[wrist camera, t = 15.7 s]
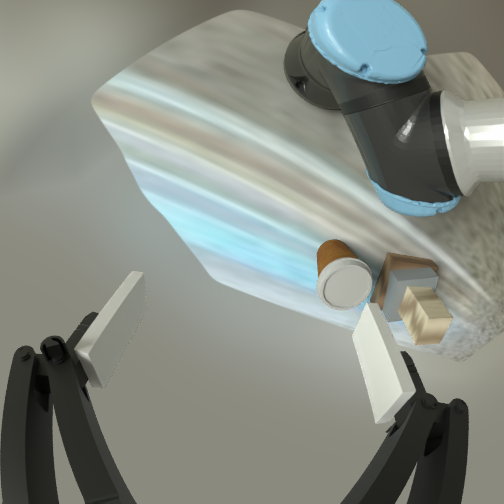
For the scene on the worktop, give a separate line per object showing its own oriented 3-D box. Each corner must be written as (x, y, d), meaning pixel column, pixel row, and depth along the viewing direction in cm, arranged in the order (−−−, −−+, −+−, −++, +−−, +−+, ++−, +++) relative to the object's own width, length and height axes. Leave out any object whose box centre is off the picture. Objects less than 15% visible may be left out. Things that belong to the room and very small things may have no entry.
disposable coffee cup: (298, 254, 52) (305, 289, 41) (336, 221, 49) (353, 250, 38) (328, 283, 55) (340, 321, 44) (364, 254, 51) (384, 287, 41)
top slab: (390, 270, 49) (397, 281, 45) (430, 267, 48) (439, 276, 44) (382, 310, 53) (387, 322, 50) (420, 305, 52) (427, 316, 49)
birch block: (407, 286, 46) (429, 318, 37) (430, 287, 45) (453, 317, 36) (397, 311, 48) (415, 345, 39) (420, 311, 48) (439, 343, 39)
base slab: (386, 251, 51) (393, 260, 48) (429, 258, 51) (437, 267, 48) (369, 298, 57) (374, 309, 53) (410, 302, 57) (417, 312, 53)
